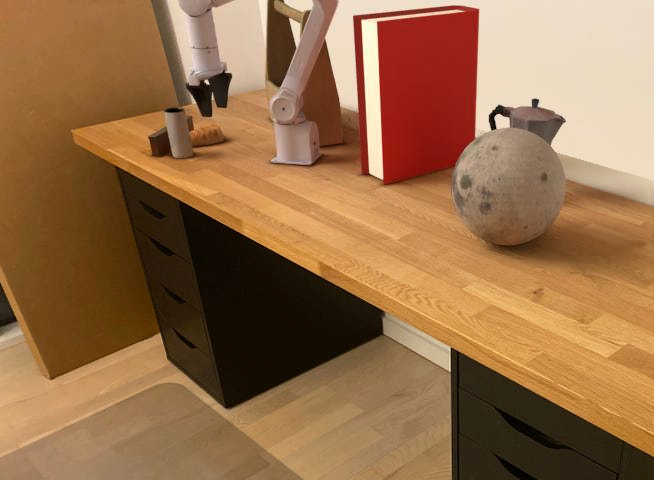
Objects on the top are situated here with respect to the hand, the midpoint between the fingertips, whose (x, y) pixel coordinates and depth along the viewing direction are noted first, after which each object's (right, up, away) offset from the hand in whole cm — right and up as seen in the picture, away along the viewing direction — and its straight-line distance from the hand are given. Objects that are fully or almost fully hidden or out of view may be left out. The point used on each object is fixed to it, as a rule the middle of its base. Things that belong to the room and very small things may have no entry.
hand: (214, 112), depth 160 cm
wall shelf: (-14, -3, +13) cm, 20 cm away
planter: (-10, -8, +7) cm, 14 cm away
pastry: (-8, -2, +16) cm, 17 cm away
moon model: (+63, -33, -28) cm, 77 cm away
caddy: (+15, +4, +25) cm, 29 cm away
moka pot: (+67, -22, -10) cm, 72 cm away
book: (+46, -11, +4) cm, 47 cm away
